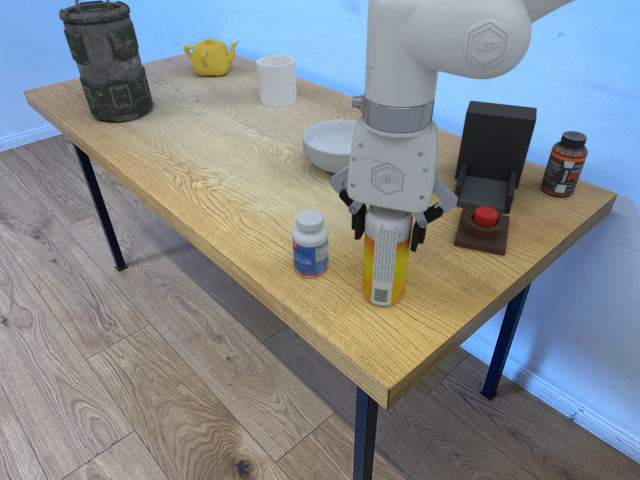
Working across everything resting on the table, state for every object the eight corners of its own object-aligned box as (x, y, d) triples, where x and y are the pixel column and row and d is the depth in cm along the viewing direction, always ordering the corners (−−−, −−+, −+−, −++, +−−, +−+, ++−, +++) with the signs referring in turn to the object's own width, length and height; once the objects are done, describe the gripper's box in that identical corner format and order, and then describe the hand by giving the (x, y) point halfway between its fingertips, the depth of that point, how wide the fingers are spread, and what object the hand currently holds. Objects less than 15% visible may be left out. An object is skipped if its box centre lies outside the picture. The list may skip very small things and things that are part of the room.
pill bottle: (286, 268, 74) (282, 217, 68) (310, 252, 77) (308, 201, 71) (312, 284, 71) (310, 232, 65) (335, 266, 74) (335, 215, 68)
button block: (508, 221, 82) (512, 207, 81) (504, 255, 75) (508, 241, 73) (461, 213, 85) (464, 199, 83) (453, 245, 77) (456, 230, 76)
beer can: (402, 281, 71) (412, 196, 62) (404, 310, 66) (415, 223, 57) (362, 279, 71) (366, 194, 62) (361, 307, 67) (365, 221, 57)
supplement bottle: (566, 201, 87) (586, 145, 80) (534, 190, 90) (551, 136, 84) (578, 189, 91) (598, 134, 84) (547, 179, 94) (564, 125, 87)
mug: (263, 89, 137) (260, 51, 131) (298, 89, 137) (297, 51, 130) (257, 107, 126) (253, 67, 120) (295, 107, 126) (293, 66, 120)
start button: (496, 216, 79) (499, 208, 78) (495, 228, 77) (497, 220, 75) (474, 213, 80) (476, 204, 79) (472, 224, 78) (474, 215, 77)
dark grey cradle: (519, 174, 95) (536, 107, 87) (515, 216, 84) (535, 144, 75) (458, 165, 99) (470, 100, 90) (446, 204, 87) (458, 134, 79)
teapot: (225, 63, 158) (220, 30, 151) (243, 73, 149) (239, 39, 143) (186, 72, 151) (180, 38, 145) (204, 82, 143) (198, 47, 137)
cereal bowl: (393, 180, 95) (396, 148, 90) (312, 191, 92) (311, 158, 88) (368, 143, 108) (369, 114, 103) (297, 152, 105) (295, 122, 101)
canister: (104, 129, 117) (64, 6, 100) (83, 110, 127) (45, -5, 110) (163, 112, 125) (136, -5, 108) (140, 96, 135) (112, -14, 118)
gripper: (312, 114, 52) (316, 242, 62) (475, 136, 47) (449, 271, 57) (335, 91, 57) (335, 212, 68) (483, 108, 52) (457, 236, 63)
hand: (387, 239), depth 63 cm, fingers open, 6 cm apart
